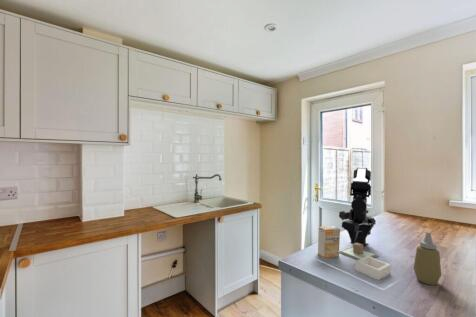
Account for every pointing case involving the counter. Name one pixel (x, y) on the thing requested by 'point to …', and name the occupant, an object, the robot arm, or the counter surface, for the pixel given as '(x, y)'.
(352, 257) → the mat
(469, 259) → the counter surface
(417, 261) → the squeeze bottle
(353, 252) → the lid
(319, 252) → the supplement box
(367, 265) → the white box
